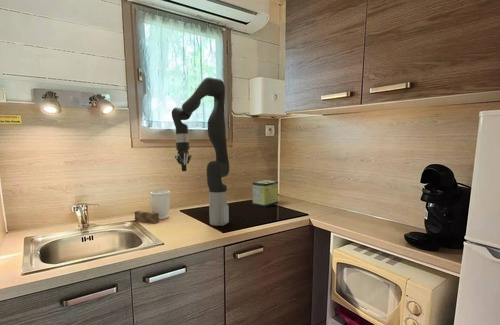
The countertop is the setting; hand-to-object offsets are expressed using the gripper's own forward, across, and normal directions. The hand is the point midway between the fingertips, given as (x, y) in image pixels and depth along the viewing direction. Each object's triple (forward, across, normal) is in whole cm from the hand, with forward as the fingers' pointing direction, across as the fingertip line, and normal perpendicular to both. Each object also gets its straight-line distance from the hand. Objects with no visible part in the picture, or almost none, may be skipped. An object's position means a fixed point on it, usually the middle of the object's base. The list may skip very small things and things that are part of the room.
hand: (184, 171), depth 161 cm
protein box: (+27, +43, -33) cm, 60 cm away
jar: (+26, -12, +9) cm, 30 cm away
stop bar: (+26, -21, +11) cm, 35 cm away
